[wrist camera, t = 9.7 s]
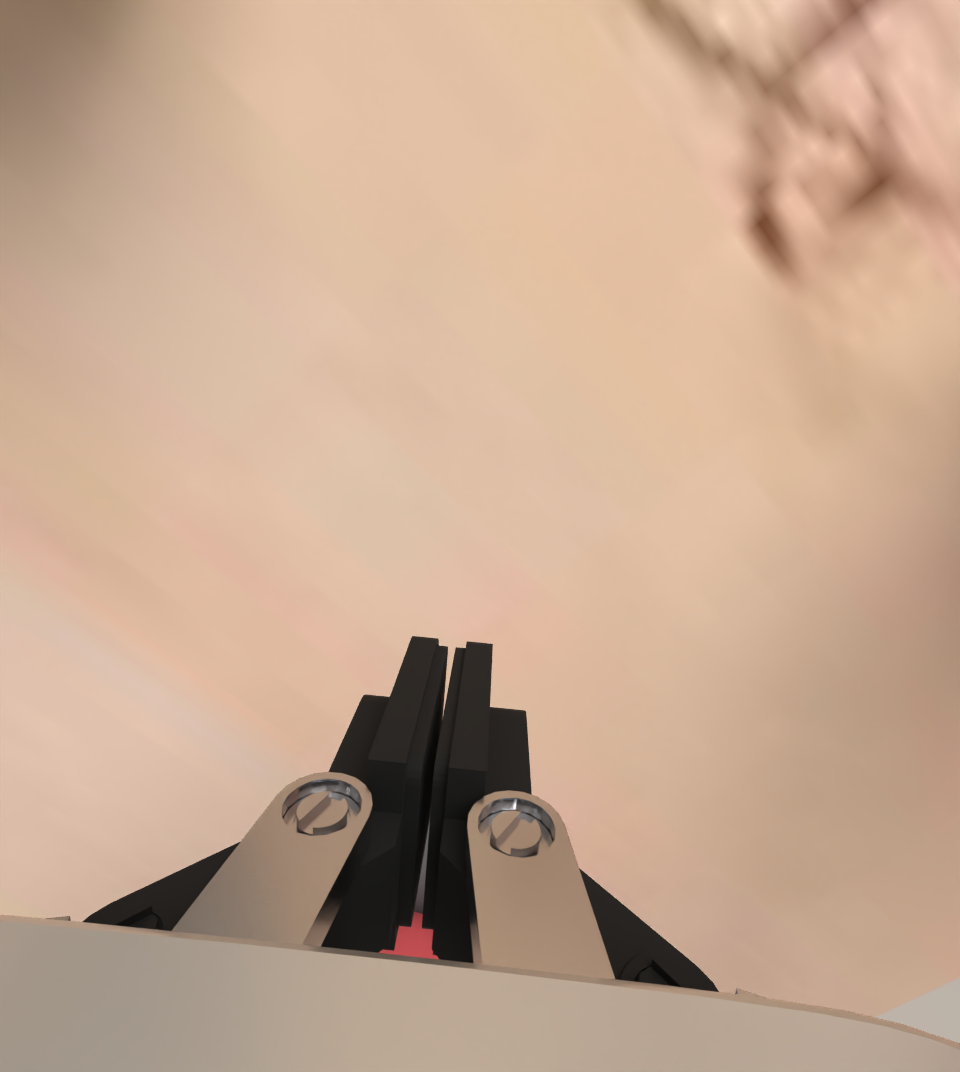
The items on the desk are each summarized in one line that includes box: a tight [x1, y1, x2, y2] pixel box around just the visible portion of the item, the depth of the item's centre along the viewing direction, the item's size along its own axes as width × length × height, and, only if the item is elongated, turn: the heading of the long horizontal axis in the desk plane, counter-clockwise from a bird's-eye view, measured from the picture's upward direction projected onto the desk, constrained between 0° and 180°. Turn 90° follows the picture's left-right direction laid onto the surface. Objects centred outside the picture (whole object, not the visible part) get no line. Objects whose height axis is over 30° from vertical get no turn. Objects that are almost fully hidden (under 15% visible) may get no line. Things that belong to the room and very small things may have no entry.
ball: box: [379, 912, 440, 960], centre depth 30 cm, size 6×6×6 cm
